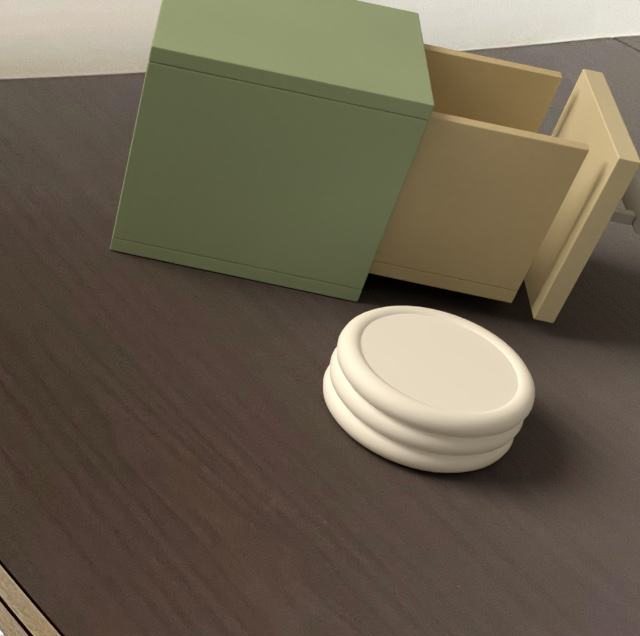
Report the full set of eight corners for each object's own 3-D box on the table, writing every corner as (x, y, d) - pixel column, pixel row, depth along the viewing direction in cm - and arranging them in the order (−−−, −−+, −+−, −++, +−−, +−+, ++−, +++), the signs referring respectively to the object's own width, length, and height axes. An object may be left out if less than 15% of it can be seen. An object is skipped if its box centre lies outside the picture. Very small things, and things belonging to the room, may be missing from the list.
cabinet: (351, 197, 76) (418, 12, 67) (357, 302, 67) (435, 105, 58) (132, 151, 76) (171, -40, 67) (109, 250, 67) (151, 45, 59)
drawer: (583, 237, 74) (664, 85, 67) (615, 336, 67) (710, 177, 59) (321, 182, 74) (374, 24, 67) (323, 274, 67) (383, 108, 60)
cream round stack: (450, 351, 65) (476, 297, 62) (545, 471, 59) (578, 416, 56) (289, 359, 62) (309, 303, 59) (370, 485, 56) (397, 429, 53)
